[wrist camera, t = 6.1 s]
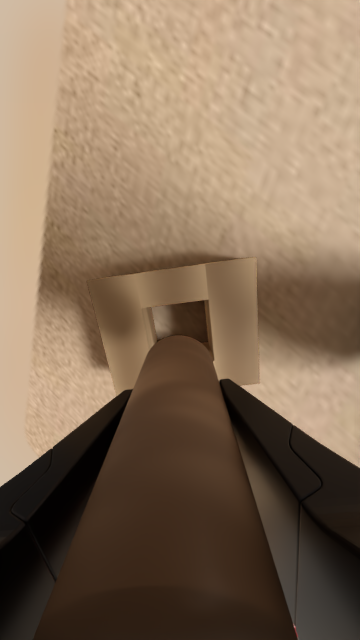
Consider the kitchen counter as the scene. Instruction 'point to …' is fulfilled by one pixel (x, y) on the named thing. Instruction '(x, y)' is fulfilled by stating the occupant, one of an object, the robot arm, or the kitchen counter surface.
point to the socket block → (172, 288)
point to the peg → (170, 523)
